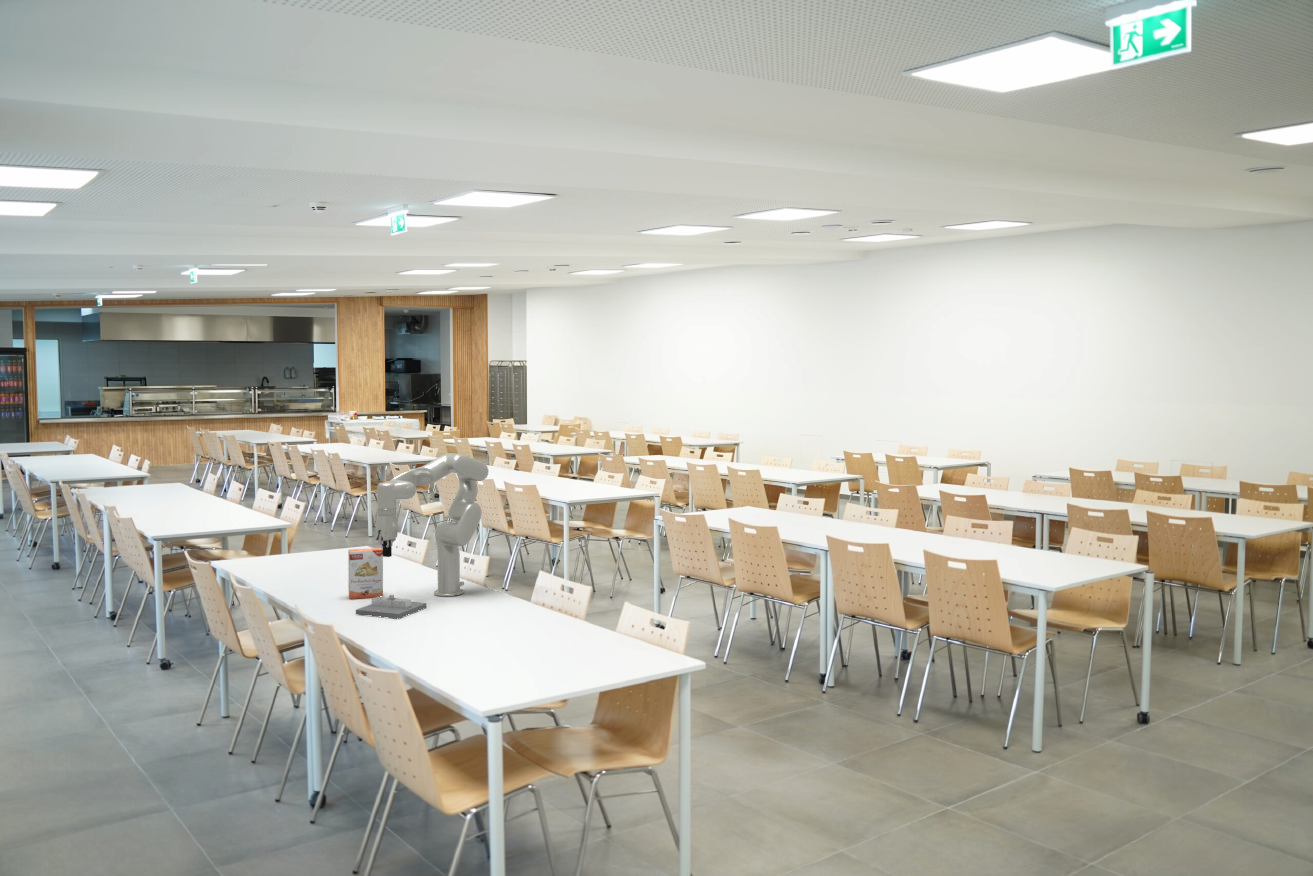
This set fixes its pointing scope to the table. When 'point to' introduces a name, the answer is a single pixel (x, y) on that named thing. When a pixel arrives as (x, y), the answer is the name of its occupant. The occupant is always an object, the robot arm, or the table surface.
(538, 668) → the table surface
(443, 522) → the robot arm
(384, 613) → the cover plate
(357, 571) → the cracker box
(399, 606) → the grey long block
